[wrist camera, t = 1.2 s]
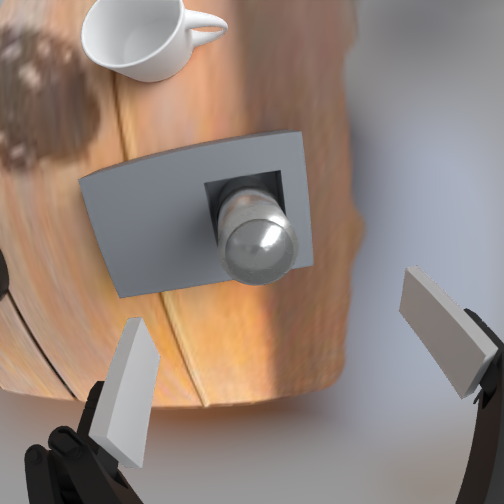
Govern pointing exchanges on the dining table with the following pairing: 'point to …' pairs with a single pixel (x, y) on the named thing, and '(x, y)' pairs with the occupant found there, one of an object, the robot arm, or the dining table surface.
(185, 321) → the dining table surface
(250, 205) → the silver can
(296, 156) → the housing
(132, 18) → the mug
